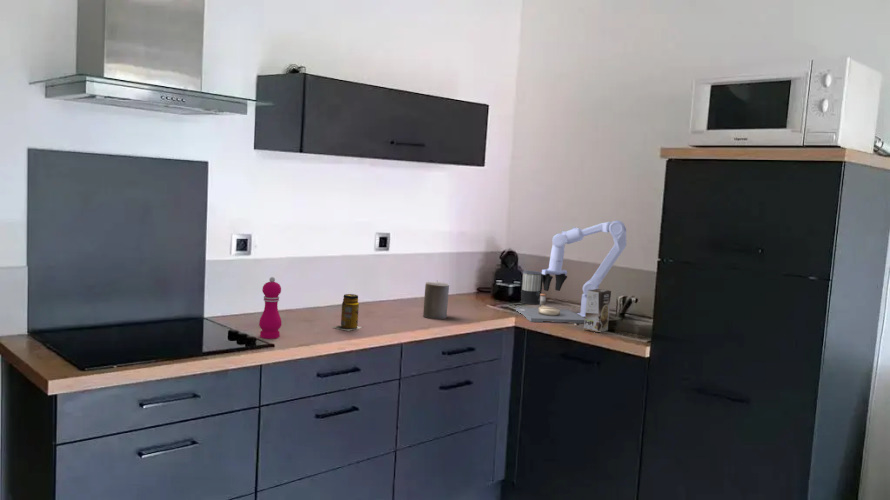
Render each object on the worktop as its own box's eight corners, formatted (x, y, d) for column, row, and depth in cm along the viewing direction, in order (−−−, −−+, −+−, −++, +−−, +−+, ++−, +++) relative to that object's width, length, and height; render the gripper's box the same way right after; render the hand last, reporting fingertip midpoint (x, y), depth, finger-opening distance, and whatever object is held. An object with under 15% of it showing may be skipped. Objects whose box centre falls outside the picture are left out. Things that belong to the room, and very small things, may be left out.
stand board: (567, 312, 324) (568, 308, 324) (586, 323, 300) (587, 319, 300) (515, 310, 320) (516, 307, 320) (530, 321, 296) (531, 317, 296)
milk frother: (538, 305, 338) (540, 274, 337) (505, 301, 343) (507, 270, 341) (542, 301, 352) (545, 270, 350) (510, 297, 356) (513, 267, 355)
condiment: (362, 327, 264) (364, 295, 263) (348, 331, 257) (350, 297, 256) (346, 324, 268) (347, 292, 267) (332, 328, 260) (333, 295, 259)
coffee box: (598, 333, 282) (601, 292, 280) (583, 330, 286) (586, 290, 284) (608, 330, 289) (611, 290, 288) (593, 327, 293) (596, 288, 291)
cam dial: (562, 315, 305) (563, 300, 305) (541, 315, 304) (543, 299, 303) (551, 308, 321) (552, 293, 320) (531, 307, 319) (532, 293, 319)
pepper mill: (254, 337, 238) (256, 277, 236) (267, 333, 245) (269, 274, 243) (272, 340, 236) (275, 279, 234) (285, 336, 243) (287, 277, 241)
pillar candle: (423, 318, 289) (426, 281, 287) (422, 313, 298) (425, 277, 297) (447, 320, 289) (450, 283, 288) (446, 315, 299) (448, 279, 298)
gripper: (560, 259, 328) (556, 288, 330) (538, 258, 319) (534, 288, 320) (572, 262, 323) (567, 291, 324) (550, 261, 313) (545, 292, 315)
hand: (551, 290), depth 322 cm, fingers open, 7 cm apart
